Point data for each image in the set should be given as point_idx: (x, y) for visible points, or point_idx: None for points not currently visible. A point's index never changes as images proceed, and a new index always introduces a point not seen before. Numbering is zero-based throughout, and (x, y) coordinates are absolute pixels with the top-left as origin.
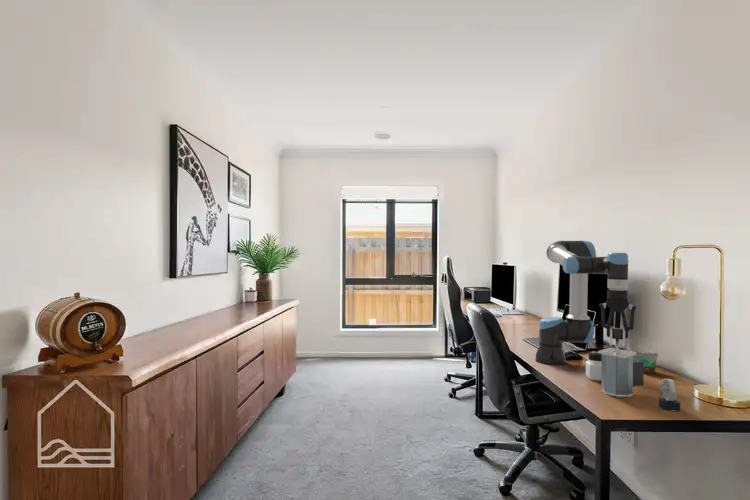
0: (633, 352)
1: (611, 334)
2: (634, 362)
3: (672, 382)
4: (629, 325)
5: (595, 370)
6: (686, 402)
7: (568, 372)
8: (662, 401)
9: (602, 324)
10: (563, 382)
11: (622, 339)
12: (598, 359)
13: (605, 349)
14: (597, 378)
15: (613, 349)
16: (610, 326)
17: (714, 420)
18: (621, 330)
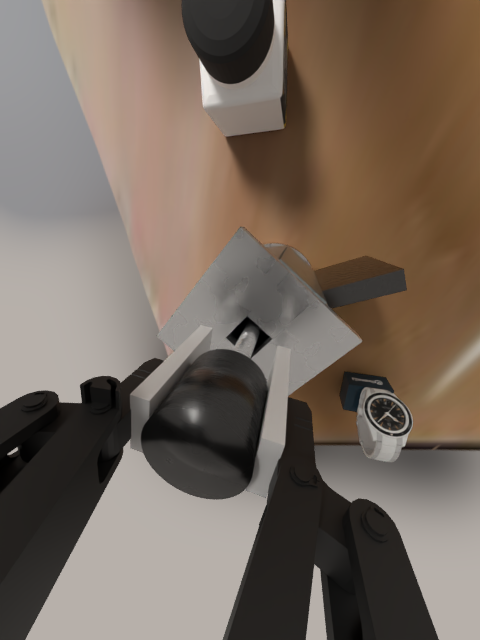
0: (340, 349)
1: None
2: (347, 304)
3: (383, 460)
4: (350, 564)
5: (235, 117)
6: (457, 335)
7: (159, 19)
8: (343, 403)
9: (12, 469)
10: (140, 206)
11: (268, 388)
12: (236, 77)
13: (196, 295)
14: (250, 131)
15: (243, 285)
16: (106, 482)
17: (426, 445)
18: (230, 488)
